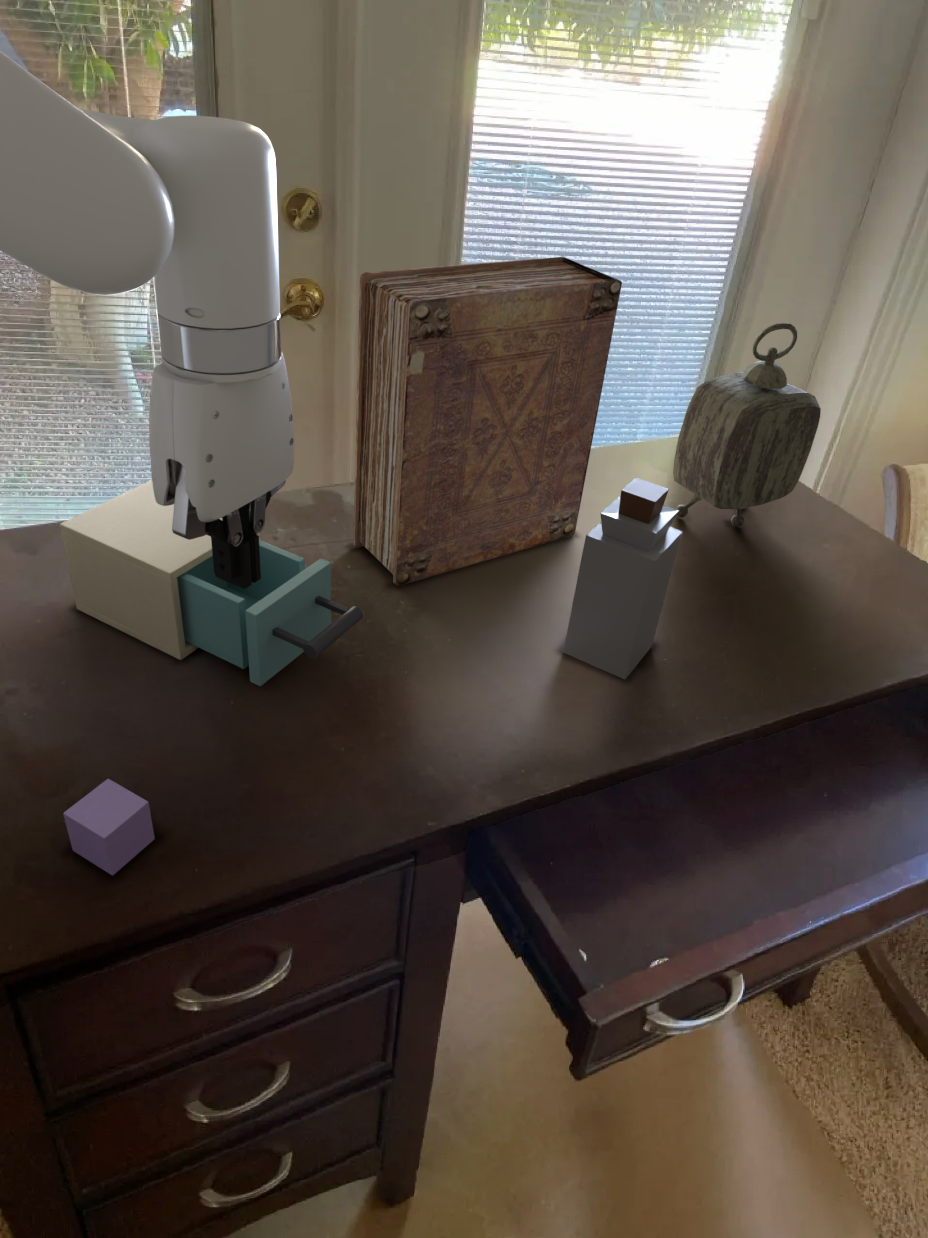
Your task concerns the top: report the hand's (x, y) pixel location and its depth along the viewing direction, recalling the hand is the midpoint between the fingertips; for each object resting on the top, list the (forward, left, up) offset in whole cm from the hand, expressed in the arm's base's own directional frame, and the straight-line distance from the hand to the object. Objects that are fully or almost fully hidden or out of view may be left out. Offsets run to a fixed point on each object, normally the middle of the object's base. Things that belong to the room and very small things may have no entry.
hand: (237, 578), depth 67 cm
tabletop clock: (+64, -24, -15) cm, 70 cm away
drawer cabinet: (+9, +17, -15) cm, 24 cm away
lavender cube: (-15, -1, -15) cm, 21 cm away
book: (+38, 0, -15) cm, 41 cm away
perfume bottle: (+29, -22, -15) cm, 39 cm away
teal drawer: (+9, +5, -14) cm, 17 cm away
